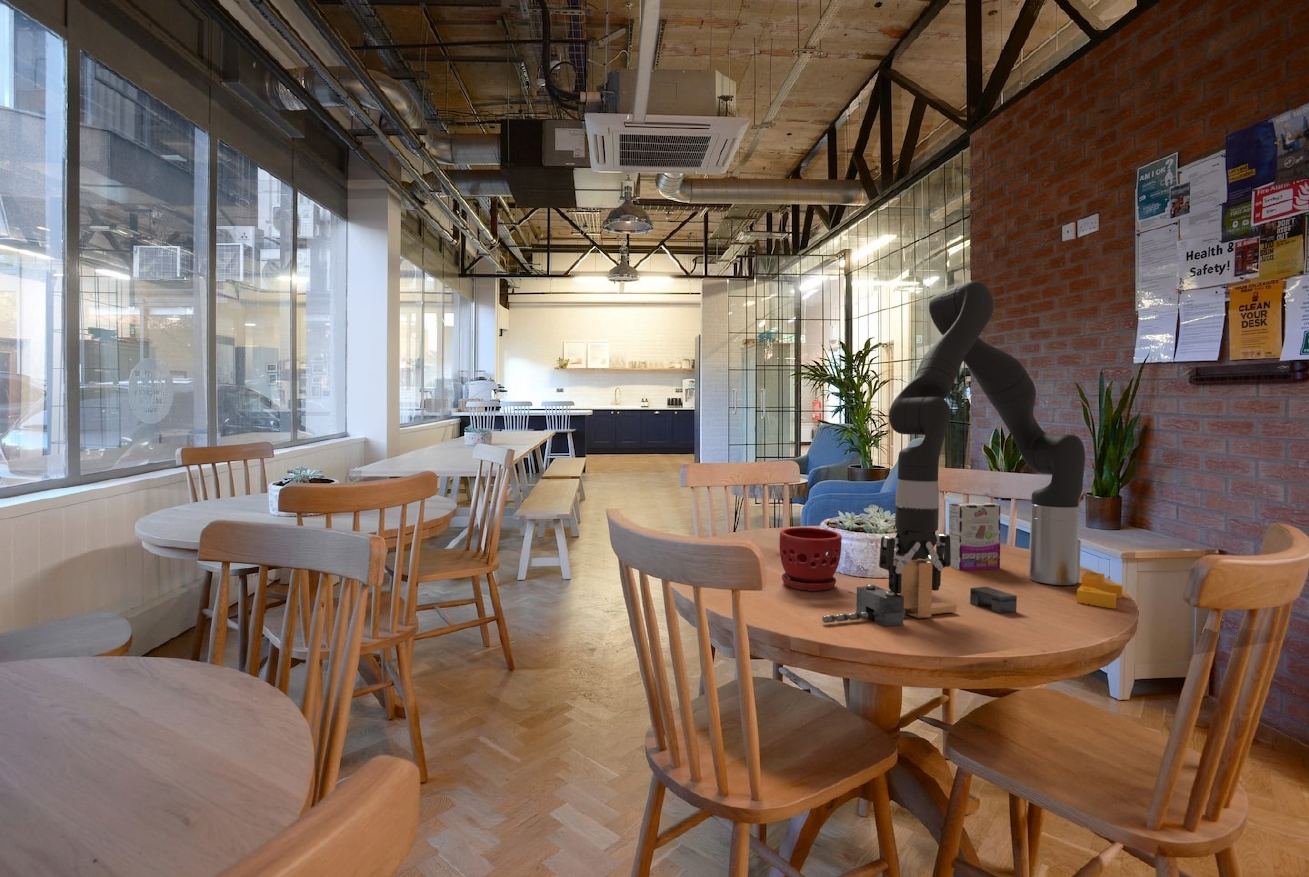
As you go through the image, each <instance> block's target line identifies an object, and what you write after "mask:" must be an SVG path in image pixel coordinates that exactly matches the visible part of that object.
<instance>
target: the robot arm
mask: <svg viewBox="0 0 1309 877" xmlns="http://www.w3.org/2000/svg"><path fill="white" fill-rule="evenodd" d="M994 308H995V307H994V298H993V295H992V292H991V291H990V288H989V287H988V286H987V285H986V284H985V283H983V282H982V281H979V280H978V281H977V280H975V281H969V282H966V283H962V284H959V285H957V286H954V287H952V288H949V289H946V290H944V291H942V292H939V293H937V294H935V295H933V296H932V297H931V299H930V300H929V305H928V310H929V315H930V317H931V320H932V322H933V324H934V326H935V327H936V328H937V330H938V331H939V333H940V335H942V336H941V337H939V339H938V340H937V341H935V343H934V344H933V345H932V346H931V347H930V348H929V349H928V351H927V352H926V353H925V355H924V356H923V358H922V360H921V361H920V364H919V365H918V366H919V367H917V371H916V373H915V375H914V377H913V379H912V380H911V381H910V382H908V384H907V385H905V387H904V388H903V389H902V391H901V392H900V393H899V394H897V396H896V397H895V398H894V400H893V401H892V404H891V406H890V409H889V411H888V412H889V413H888V422H889V426H890V427H891V428H892V430H893V431H894V432H896V433H897V434H901V435H916V436H917V435H918V436H919V435H920V436H924V439H923V440H922V442H921V444H919V445H915V446H911V447H905V448H902V449H901V450H899V452H898V460H897V461H898V462H897V481H896V482H897V483H896V489H895V505H894V506H895V512H894V514H895V515H894V516H895V518H894V527H895V528H896V534H895V537H893V536H888V535H887V536H886V535H882V536H881V538H880V549H879V560H878V566H879V568H880V569H883V570H886V571H887V572H888V589H889V591H893V592H894V593H896V594H899V595H900V593H901V580H902V574H900V572H901V571H902V569H903V568H904V566H905V565H906V564H908V563H909V562H910V560H917V559H922V560H925V561H929V562H932V563H933V564H932V591H934V592H935V591H939V590H940V587H941V585H942V584H941V582H942V581H941V580H942V579H941V577H942V576H941V575H942V571H943V569H945V568H946V567H947V568H949V567H951V566H950V565H951V549H950V536H949V534H943V533H936V532H937V531H938V530H939V517H940V515H939V512H940V491H939V490H940V489H939V488H940V487H939V462H940V455H941V452H942V448H943V445H944V444H943V443H944V442H945V441H944V440H945V437H946V436H947V431H948V429H949V426H950V422H951V418H952V417H951V416H952V412H951V407H950V405H949V403H948V402H947V400H946V399H947V398H948V397H949V395H950V393H951V391H952V389H953V386H954V384H955V381H956V378H957V376H958V374H959V371H960V368H961V366H962V364H963V363H964V364H965V365H966V366H967V368H968V370H969V371H970V373H971V374H972V375H973V377H974V378H975V380H976V382H977V383H978V386H979V387H980V388H981V390H982V391H983V393H984V394H985V396H986V398H987V399H988V400H989V402H990V404H991V405H992V406H993V408H994V409H995V410H996V412H997V413H998V415H999V417H1000V418H1001V420H1002V422H1003V423H1004V425H1005V427H1006V428H1007V429H1008V431H1009V433H1010V435H1011V436H1012V439H1013V441H1014V443H1015V445H1016V447H1017V449H1018V451H1019V453H1020V455H1021V457H1022V459H1023V461H1024V462H1025V464H1026V466H1027V467H1028V468H1029V469H1031V471H1033V472H1035V473H1037V474H1038V473H1039V474H1041V475H1042V474H1043V475H1051V481H1050V483H1048V485H1046V486H1045V487H1043V488H1039V489H1035V490H1034V491H1032V494H1031V498H1030V499H1031V500H1030V501H1031V504H1030V505H1031V506H1030V508H1031V509H1030V510H1031V512H1030V537H1029V538H1030V540H1029V541H1030V545H1029V547H1030V548H1029V571H1028V572H1029V574H1028V579H1030V580H1032V581H1033V582H1037V583H1043V584H1047V585H1055V586H1057V585H1058V586H1073V585H1076V584H1077V583H1080V578H1081V577H1080V574H1081V572H1080V571H1081V541H1082V540H1080V539H1079V538H1078V536H1079V509H1080V508H1079V507H1080V506H1079V504H1080V498H1081V496H1082V493H1083V487H1084V477H1085V475H1084V474H1085V465H1086V451H1085V445H1084V443H1083V441H1082V439H1081V438H1080V437H1079V436H1078V435H1075V434H1069V433H1068V434H1067V433H1047V432H1045V431H1044V430H1043V429H1042V427H1041V426H1040V425H1039V423H1038V422H1037V420H1036V418H1035V415H1034V411H1035V410H1034V409H1035V404H1036V397H1037V390H1036V386H1035V384H1034V382H1033V380H1032V378H1031V376H1030V375H1029V373H1028V372H1027V370H1026V369H1025V367H1024V365H1023V363H1021V362H1020V361H1019V359H1017V358H1015V357H1014V356H1013V355H1011V354H1009V353H1007V352H1005V351H1003V350H1002V349H1000V348H997V347H995V346H993V345H991V344H989V343H987V342H985V341H984V340H983V339H981V338H980V335H981V334H982V333H983V331H984V329H985V328H986V326H987V325H988V323H989V322H990V320H991V318H992V316H993V312H994ZM896 545H897V546H896ZM896 547H897V549H896ZM934 548H935V549H934ZM901 554H902V555H903V557H901Z"/></svg>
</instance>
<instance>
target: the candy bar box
mask: <svg viewBox="0 0 1309 877" xmlns="http://www.w3.org/2000/svg"><path fill="white" fill-rule="evenodd" d="M948 535H949V536H950V549H951V565H950V566H949V567H951V568H953V569H956V570H959V571H972V570H973V571H975V570H977V571H978V570H993V569H997V570H998V569H1000V568H1001V504H999V503H998V504H997V503H995V502H994V503H993V502H966V503H965V502H964V503H962V502H961V503H949V504H948Z"/></svg>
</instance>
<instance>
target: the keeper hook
mask: <svg viewBox="0 0 1309 877" xmlns="http://www.w3.org/2000/svg"><path fill="white" fill-rule="evenodd" d="M969 590H970V591H969V593H970V595H969V597H970V598H969V600H970V601H969V604H971V605H973V606H977V607H983V606H991V611H992V612H994V613H997V614H1009V613H1010V614H1011V613H1016V612H1017V602H1018V601H1017V600H1018V595H1015V594H1013V593H1009V592H1006V591H1002V590H1000V589H995V588H992V587H988V586H980V587H970V589H969Z"/></svg>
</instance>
